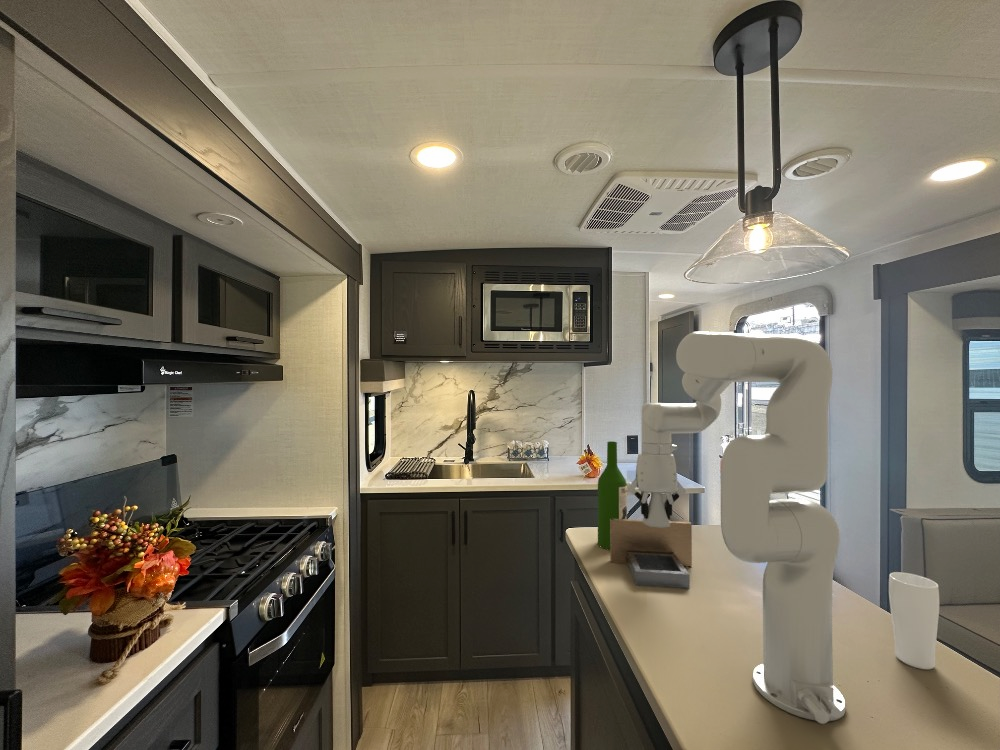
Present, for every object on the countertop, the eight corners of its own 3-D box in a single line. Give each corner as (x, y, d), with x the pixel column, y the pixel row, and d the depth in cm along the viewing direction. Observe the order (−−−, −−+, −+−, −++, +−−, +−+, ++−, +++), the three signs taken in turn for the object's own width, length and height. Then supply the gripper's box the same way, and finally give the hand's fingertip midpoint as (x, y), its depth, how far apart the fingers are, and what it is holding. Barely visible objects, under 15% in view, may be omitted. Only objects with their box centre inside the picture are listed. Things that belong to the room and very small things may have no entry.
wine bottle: (621, 552, 132) (621, 444, 133) (593, 546, 137) (593, 442, 138) (630, 543, 140) (630, 441, 140) (603, 538, 145) (603, 439, 145)
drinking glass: (880, 650, 84) (879, 571, 84) (916, 651, 84) (915, 571, 84) (912, 673, 77) (910, 587, 78) (951, 674, 77) (950, 588, 77)
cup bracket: (708, 589, 109) (708, 541, 109) (617, 584, 111) (617, 536, 112) (690, 564, 124) (690, 522, 124) (610, 560, 127) (610, 518, 127)
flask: (675, 528, 113) (675, 490, 113) (647, 528, 113) (647, 489, 113) (665, 520, 120) (665, 483, 121) (638, 519, 120) (638, 483, 121)
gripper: (685, 447, 120) (685, 514, 119) (621, 446, 122) (621, 512, 122) (694, 452, 112) (694, 523, 112) (625, 450, 115) (625, 520, 114)
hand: (656, 516), depth 117 cm, fingers closed on flask, 4 cm apart
